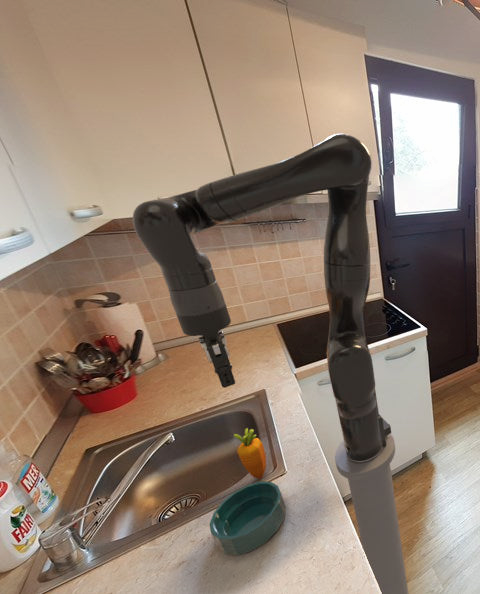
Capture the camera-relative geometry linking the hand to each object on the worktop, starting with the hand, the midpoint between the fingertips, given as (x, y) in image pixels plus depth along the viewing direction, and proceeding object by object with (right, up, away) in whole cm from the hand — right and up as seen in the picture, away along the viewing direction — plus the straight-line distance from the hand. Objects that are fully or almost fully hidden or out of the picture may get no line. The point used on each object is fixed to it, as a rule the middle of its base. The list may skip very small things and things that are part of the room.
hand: (225, 376), depth 69 cm
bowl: (+5, -32, +1) cm, 33 cm away
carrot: (0, -28, +11) cm, 30 cm away
